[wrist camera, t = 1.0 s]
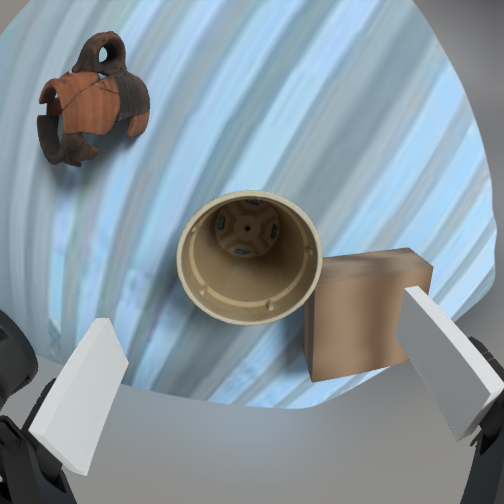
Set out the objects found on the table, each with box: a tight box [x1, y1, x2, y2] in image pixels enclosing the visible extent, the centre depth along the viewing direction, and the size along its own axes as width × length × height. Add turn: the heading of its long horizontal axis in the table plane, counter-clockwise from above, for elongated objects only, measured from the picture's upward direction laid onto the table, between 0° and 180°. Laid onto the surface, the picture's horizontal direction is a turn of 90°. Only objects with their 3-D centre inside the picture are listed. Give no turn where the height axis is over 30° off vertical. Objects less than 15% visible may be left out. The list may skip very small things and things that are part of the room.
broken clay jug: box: [37, 31, 150, 167], centre depth 19 cm, size 12×10×8 cm
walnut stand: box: [304, 248, 433, 382], centre depth 27 cm, size 12×12×5 cm
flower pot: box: [176, 190, 322, 325], centre depth 22 cm, size 9×9×9 cm
